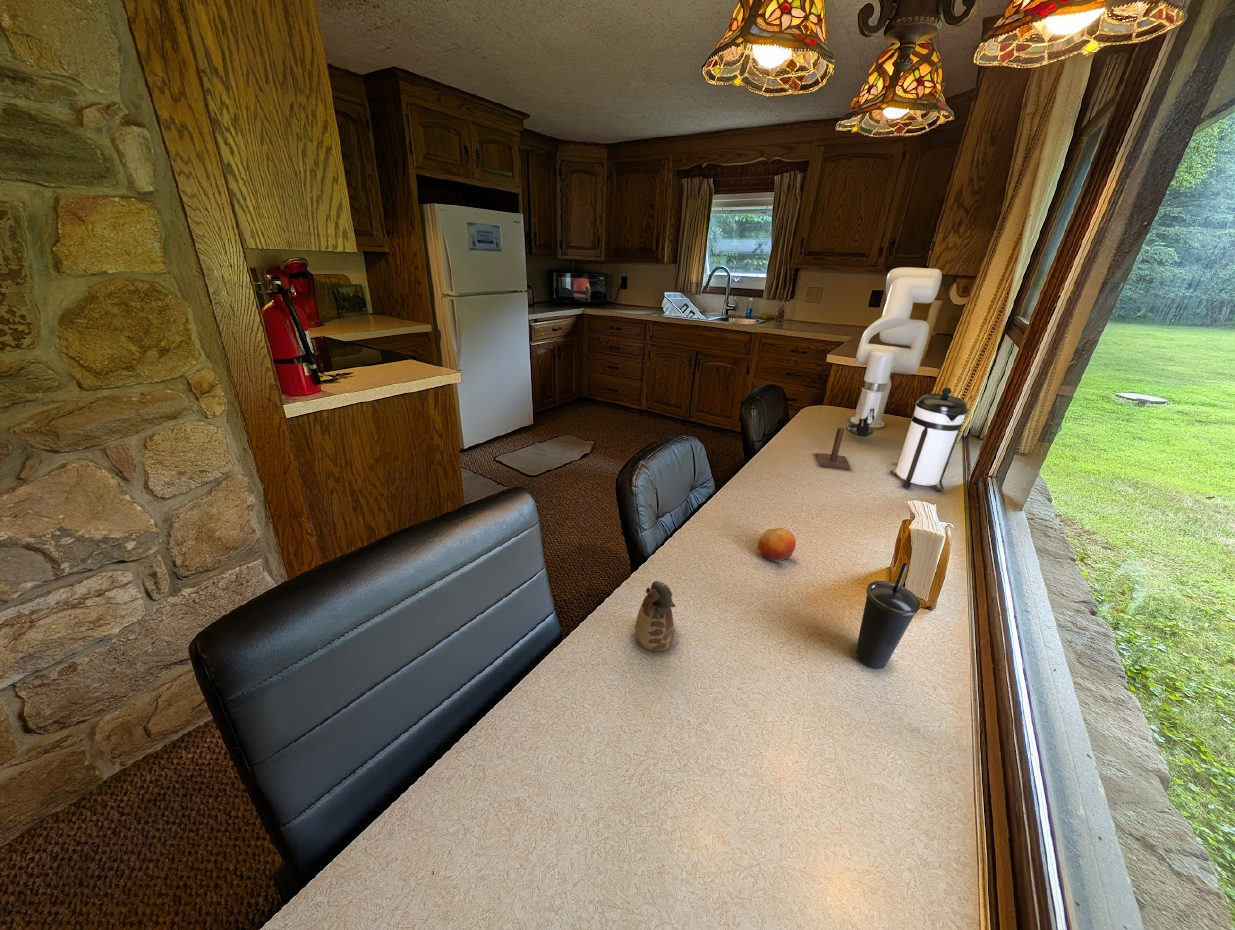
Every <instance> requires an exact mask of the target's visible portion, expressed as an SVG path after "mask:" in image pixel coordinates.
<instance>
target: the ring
mask: <svg viewBox="0 0 1235 930" xmlns="http://www.w3.org/2000/svg"><path fill="white" fill-rule="evenodd" d="M857 425H858V424H856V423H848V424H846V426H845V430H846V432H848V433H850V434H852V435H856V436H858V435H857V433H858V430H856V429H857ZM873 434H874V429H873V427H869V431H868V434H867V436H866V437H868V436H871V435H873Z"/></svg>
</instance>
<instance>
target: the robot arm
mask: <svg viewBox="0 0 1235 930" xmlns="http://www.w3.org/2000/svg"><path fill="white" fill-rule="evenodd" d="M942 278H943V274H942V271H941V269H938V268H931V267H930V268H927V267H911V266H910V267H908V266H907V267H906V266H905V267H896V268H892V269H891V270H890V271H889V272H888V273H887V276H886V280H885V296H886V302H885V305H884V308H883V311H882V314H881V317H880V318H878V319H877V320H875V321H874V322H873V323H871V324H870V325H869V326H868V327H867V328H866V329H865V330H864V332H863V334H862V336H861V338H860V341H859V344H858V348H857V350H856V351H857V352H856V355H855V361H856V362H857V364H859V365H861V366H866V370H865V374H864V378H863V382H862V384H861V393H860V395H859V398H858V402H857V406H856V409H855V411H856V412H855V415H854V416H852V417H851V418H850V420H849V421H850V422H852V423H853V424H858V425H857V428H855V430H858V433H857V435H856V436H858V437H865V438H867V437H868V436H867V434H868V431H869V427H871V428H882V427H884V426H885V422H884V421H882V419H883V416H884V413H885V409H886V405H887V402H888V398H889V395H890V391H891V388H892V379H891V378H890V377H891V375H892V373H893V374H899V375H900V374H901V375H909V376H911V375H914V374H916V373H917V371H918V370H919V367H920V364H921V361H922V358H923V355H924V351H925V347H926V344H927V341H928V337H929V333H930V326H929V323H928V322H927V321H926V320H922V319H913V318H911V315H912V314H911V313H912V311H913V308H914V307H913V305H914V303H916V304H931V303H932V302H934V301H935V299H936V298H937V295H938V293H939V289H940V287H941V282H942V280H943V279H942ZM878 334H879V340H880V341H881V342H883V343H886V344H891V345H892V346H891V345H883V344H875V343H870V340H871V339H872V338H873V337H874V336H875V335H878ZM893 345H901V346H908V347H909V348H908V347H899V346H893Z"/></svg>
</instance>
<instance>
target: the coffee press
mask: <svg viewBox="0 0 1235 930" xmlns="http://www.w3.org/2000/svg"><path fill="white" fill-rule="evenodd" d="M951 394H952V389H951V388H950V387H944V388H943V389H942V390H941V393H927V394H923V395H922V396H920V397H919V399H916V401H915V409H914V412H913V413H912V415H911V418H910V419H911V420H910V422H909V426H908V429H907V432H906V435H905V438H904V442H903V445H902V449H901V451H900V454H899V457H898V461H897V464H896V467H895V468H894V469H892V470H890V471H889V472H890V474H891V475H892V476H895V475H897V476H898V477H899V478H900V479H902V480H903V481H904V482H903V485H902V488H904V489H907V490H908V489H909V488H910V487H911V485H912V484H914V485H919V486H924V487H925V486H926V487H927V486H928V487H930V486H932V487H934V489H935V490H936V491H937V492H939V493H940V492H942V491H943V490H944V488H945V487H944V484H943V478H944V475H945V473H946V471H947V467H948V465H949V462H950V459H951V456H952V454H953V452H954V448H955V446H956V443H957V441H958V439H959V438H958V437H959V435H960V432H961V429H962V427H963V425H964V419H965V416H966V415H968V413H969V411H970V410H969V408H968V403H966V401H965V400H964V399H962V398H960V397H958V396H954V395H951ZM894 470H895V472H894ZM938 484H939V487H940V489H939V487H938V486H937V485H938Z"/></svg>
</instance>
